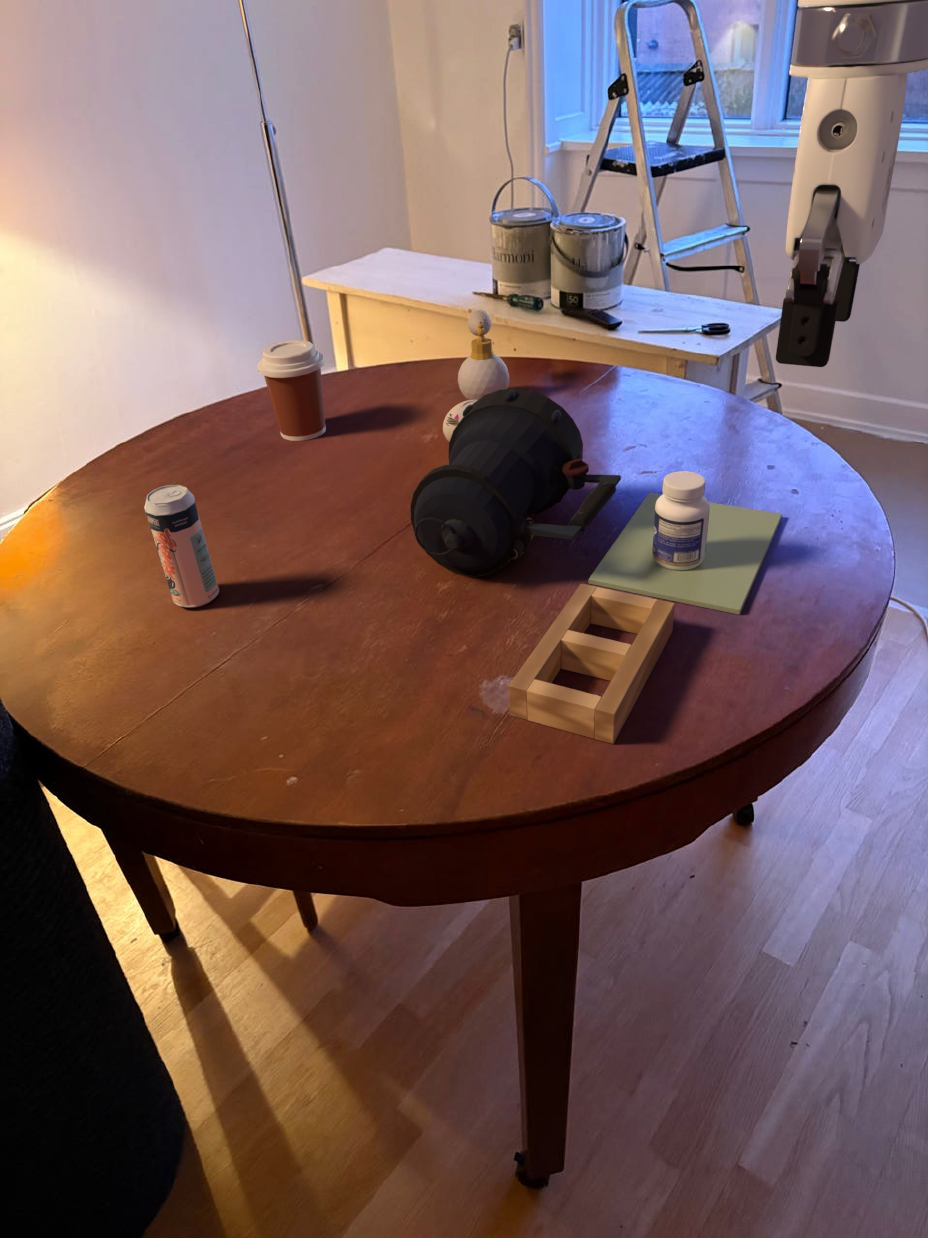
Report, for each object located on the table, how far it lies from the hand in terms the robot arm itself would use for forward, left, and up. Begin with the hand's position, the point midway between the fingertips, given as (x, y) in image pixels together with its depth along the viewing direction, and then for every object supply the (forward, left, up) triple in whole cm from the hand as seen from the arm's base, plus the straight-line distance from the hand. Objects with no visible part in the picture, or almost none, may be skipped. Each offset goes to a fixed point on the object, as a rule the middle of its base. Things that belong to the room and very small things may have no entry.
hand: (814, 340), depth 61 cm
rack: (+13, +6, -28) cm, 32 cm away
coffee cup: (+70, -30, -28) cm, 81 cm away
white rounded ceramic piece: (+44, -32, -28) cm, 61 cm away
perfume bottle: (+51, -49, -28) cm, 76 cm away
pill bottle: (+11, -14, -28) cm, 33 cm away
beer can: (+55, +10, -28) cm, 63 cm away
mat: (+11, -17, -28) cm, 35 cm away
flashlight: (+28, -11, -28) cm, 41 cm away
